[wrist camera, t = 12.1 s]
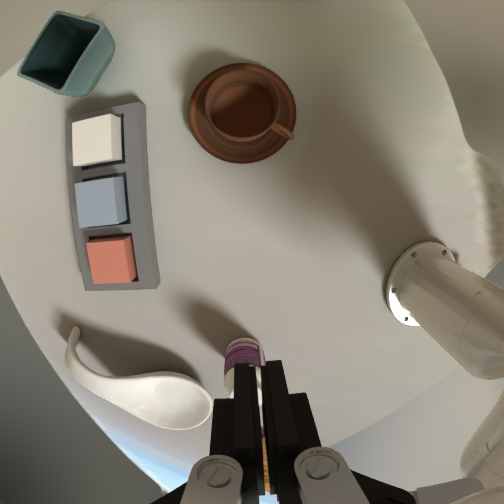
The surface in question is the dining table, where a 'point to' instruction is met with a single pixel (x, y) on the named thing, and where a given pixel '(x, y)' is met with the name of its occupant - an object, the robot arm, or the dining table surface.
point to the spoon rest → (146, 392)
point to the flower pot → (69, 55)
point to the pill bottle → (243, 353)
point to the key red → (112, 259)
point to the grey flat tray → (135, 198)
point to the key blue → (101, 202)
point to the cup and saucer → (242, 113)
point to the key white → (96, 140)
